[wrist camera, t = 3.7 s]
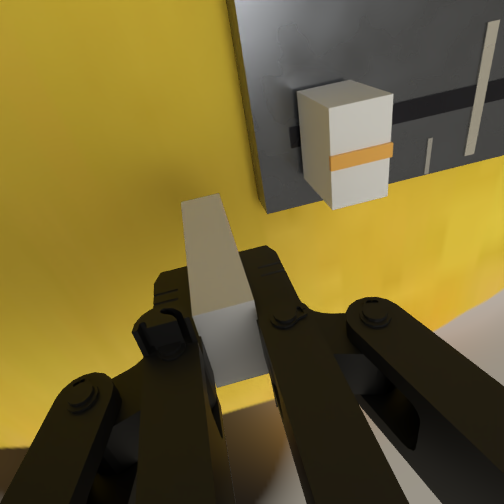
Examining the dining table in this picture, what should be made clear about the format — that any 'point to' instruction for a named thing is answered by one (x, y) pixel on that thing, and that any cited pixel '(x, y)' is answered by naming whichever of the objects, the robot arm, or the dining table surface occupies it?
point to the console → (371, 80)
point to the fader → (346, 141)
